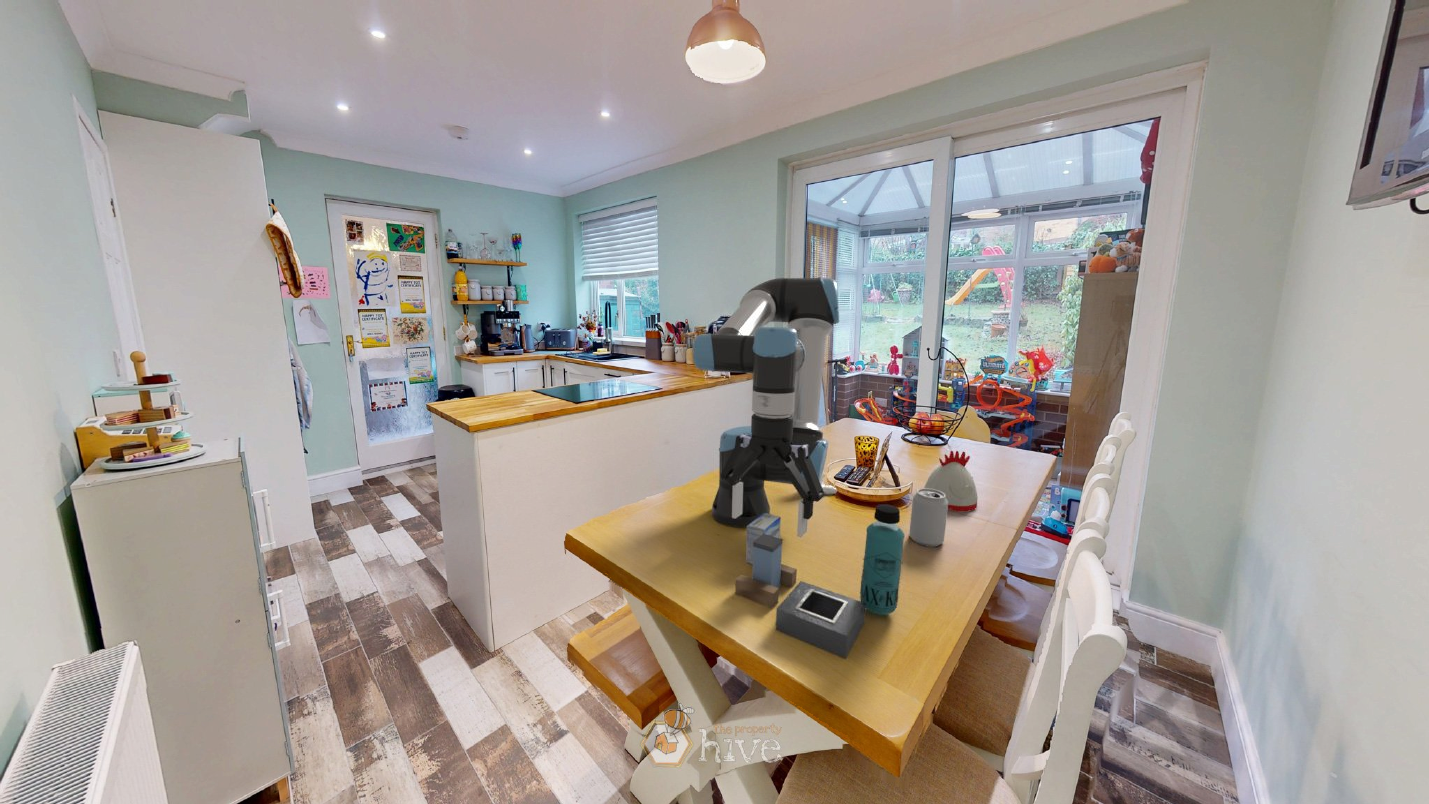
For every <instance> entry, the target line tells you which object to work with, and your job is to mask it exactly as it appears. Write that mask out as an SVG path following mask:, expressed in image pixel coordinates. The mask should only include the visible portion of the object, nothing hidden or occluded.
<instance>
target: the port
mask: <svg viewBox="0 0 1429 804" xmlns="http://www.w3.org/2000/svg"><path fill="white" fill-rule="evenodd" d="M866 610H867V609H866V603H864V602H861V600H857V599H854V598H852V597H849V596H846V595H843V594H840V593H837V592H834V591H830V590H828V589H826V588H822V587H819V586H816V585H814V584H810V583H808V582H805V581H803V580H800V581H799V582H798V583H797V585H796V586H795V587H794V588H793V589H792V591H790V593H789V594H788V595H787V596H786V597H785V598H784V599H783V601H782V602H781V603H780V604H779V605H778V606H777V607H776V614H775V615H776V618H775V619H776V620H775V631H778V632H780V633H783V634H785V635H787V636H790V637H792V638H795V639H797V640H800V641H802V642H804V643H806V644H808V645H811V646H814V647H816V648H819V649H821V650H823V651H826V652H827V653H831V654H833V655H836V656H838V657H839V658H843V659H846V658H847V656H848V655H849V653H850V652H851V649H852V647H853V646H854V644H855V642H856V640H857V638H858V637H859V635H860V633H861V631H862V630H863V628H864V627H865V622H866V621H865V620H866V612H867V611H866Z"/></svg>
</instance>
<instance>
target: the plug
mask: <svg viewBox="0 0 1429 804" xmlns="http://www.w3.org/2000/svg"><path fill="white" fill-rule="evenodd" d="M782 549H783V538H781V537H780V538H776V537H773V536H770V535H766V534H762V535H761V536H760V537H759V538H757V539H756V540H755V541H754V542H753V564H752V579H754V580H757V581H760V582H763V583H765V584H768V585H771V586H774V587H777V588H779V589H780V588H781V584H780V578H781V564H782V551H783V550H782Z"/></svg>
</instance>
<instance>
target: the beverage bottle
mask: <svg viewBox="0 0 1429 804" xmlns="http://www.w3.org/2000/svg"><path fill="white" fill-rule="evenodd" d="M874 511H875V512H874V515H873V518H874V520H875V521H874V522H872V523H871V524H870V525H868V526H867V528H866V535H865V536H866V538H865V547H864V556H863V558H862V560H863V564H862V565H861V566H862V569H861V571H862V572H861V578H860V589H859V595H860V596H859V598H860V601H861V602H864V603H866V610H867V611H870V612H871V613H874V614H878V615H889V614H892V613H894V612H895V611H896V609H897V608H898V602H899V596H900V593H899V591H900V582H901V579H902V578H901V575H902V564H903V561H902V560H903V552H904V551H903V550H904V539H905V533H904V531H903V530H902V529H901V528H900V527H899V526H898V525H897V524H898V523H900V521H901V517H900V509H899V508H898V507H897V506H895V505H891V504H886V503H884V504H883V503H882V504H877V505H876V506H875V510H874Z"/></svg>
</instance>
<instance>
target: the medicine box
mask: <svg viewBox="0 0 1429 804" xmlns="http://www.w3.org/2000/svg"><path fill="white" fill-rule="evenodd" d="M781 520H782V519H781V517H780V516H778V515H775V514H771V513H770V514H767V513H763V514H762V515H760V516H759V517H758V518H757V519H755V520H754V521H753V522H751V523H750V524H749V525H747V527H746V541H745V543H746V550H745V551H746V552H745V553H746V555H745V557H746V558H745V561H746V563H748V564H751V565H753V542H754V541H755V540H756V539H757V538H759V537H760V536H761V535H762V534H766V535H770V536H773V537H776V538H780V539H781Z"/></svg>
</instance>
